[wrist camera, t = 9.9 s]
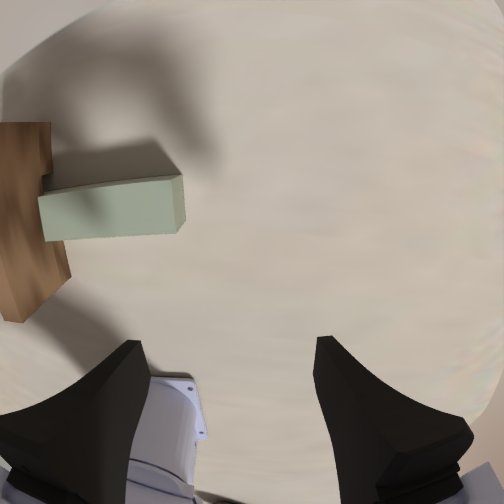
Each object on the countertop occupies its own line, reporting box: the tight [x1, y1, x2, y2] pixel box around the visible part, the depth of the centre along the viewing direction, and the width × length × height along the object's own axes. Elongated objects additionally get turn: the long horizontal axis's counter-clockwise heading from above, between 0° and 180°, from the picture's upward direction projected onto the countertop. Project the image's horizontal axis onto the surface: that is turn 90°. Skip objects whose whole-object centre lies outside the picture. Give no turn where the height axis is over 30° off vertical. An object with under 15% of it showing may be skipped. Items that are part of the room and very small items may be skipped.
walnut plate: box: [0, 122, 71, 323], centre depth 15 cm, size 12×2×7 cm, turn 2°
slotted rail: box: [38, 174, 186, 242], centre depth 17 cm, size 3×22×3 cm, turn 92°
